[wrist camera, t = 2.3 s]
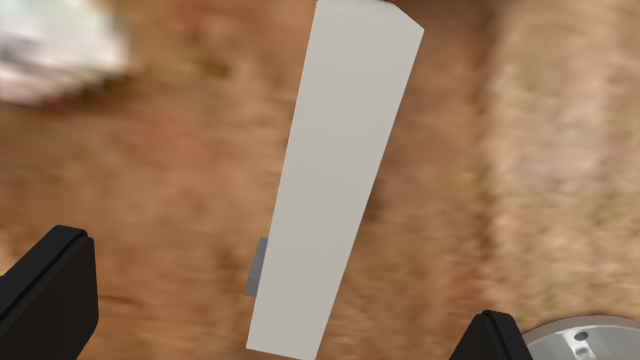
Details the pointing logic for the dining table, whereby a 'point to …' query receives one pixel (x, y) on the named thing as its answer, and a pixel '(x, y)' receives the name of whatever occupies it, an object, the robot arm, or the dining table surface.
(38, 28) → the dining table surface
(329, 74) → the door panel
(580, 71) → the dining table surface
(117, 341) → the dining table surface
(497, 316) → the robot arm
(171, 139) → the dining table surface
